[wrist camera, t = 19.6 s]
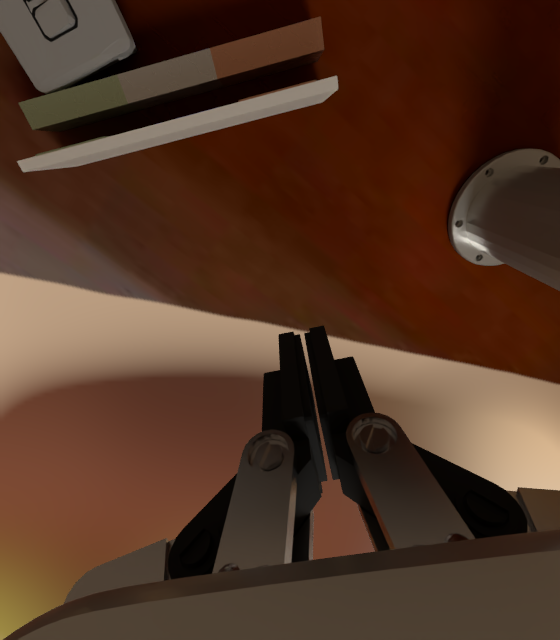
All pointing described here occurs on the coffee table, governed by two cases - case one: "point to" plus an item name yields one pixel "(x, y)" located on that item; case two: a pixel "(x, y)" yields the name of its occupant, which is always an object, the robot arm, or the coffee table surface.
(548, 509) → the robot arm
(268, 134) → the coffee table surface
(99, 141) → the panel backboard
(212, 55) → the rail
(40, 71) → the electrical switch
